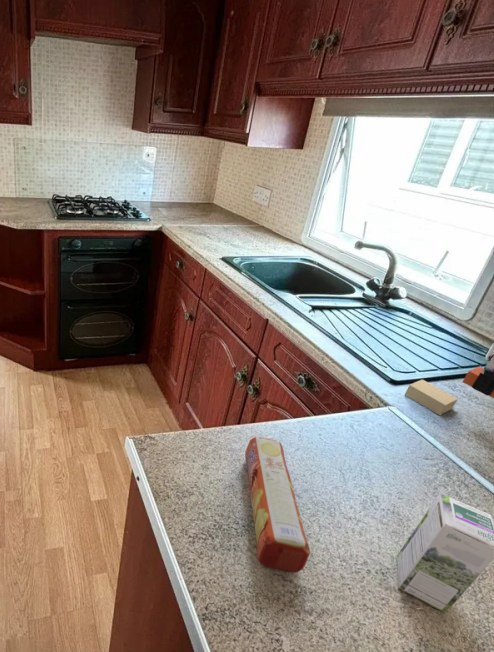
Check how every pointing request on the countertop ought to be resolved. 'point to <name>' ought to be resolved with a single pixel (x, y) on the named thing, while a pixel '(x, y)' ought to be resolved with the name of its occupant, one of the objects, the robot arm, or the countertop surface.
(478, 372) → the terracotta pad
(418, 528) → the syrup box
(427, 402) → the sand pad
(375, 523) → the countertop surface
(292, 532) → the snack package
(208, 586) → the countertop surface
